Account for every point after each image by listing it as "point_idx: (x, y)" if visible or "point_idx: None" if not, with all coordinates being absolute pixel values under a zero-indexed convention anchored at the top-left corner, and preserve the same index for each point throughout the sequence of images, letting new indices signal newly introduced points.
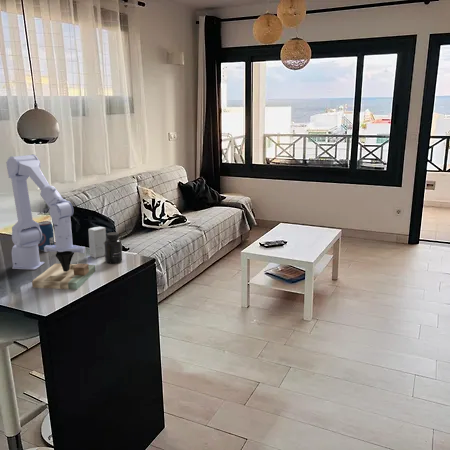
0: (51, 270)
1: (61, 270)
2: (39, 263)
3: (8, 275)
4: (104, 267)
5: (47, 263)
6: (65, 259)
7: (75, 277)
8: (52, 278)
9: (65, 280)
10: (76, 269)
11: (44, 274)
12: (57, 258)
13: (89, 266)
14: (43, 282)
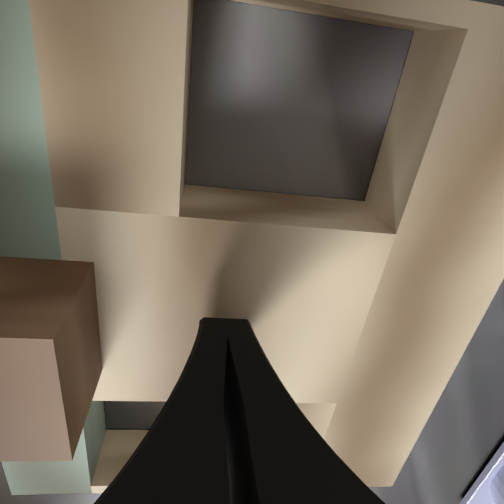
0: (402, 368)
1: (299, 374)
2: (497, 489)
3: None
4: (8, 493)
5: (439, 501)
6: (178, 485)
7: (20, 177)
8: (358, 217)
9: (119, 42)
10: (11, 312)
11: (466, 268)
12: (379, 498)
13: (49, 469)
14: (461, 3)
